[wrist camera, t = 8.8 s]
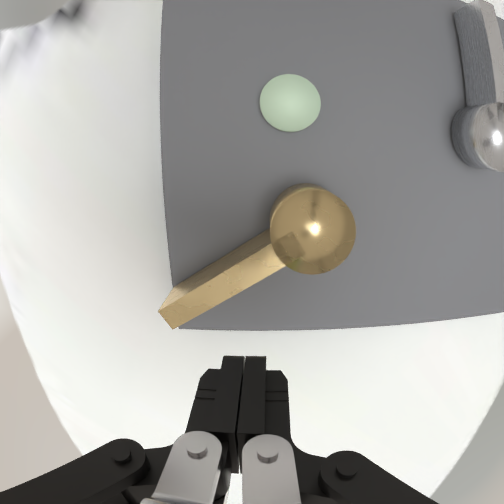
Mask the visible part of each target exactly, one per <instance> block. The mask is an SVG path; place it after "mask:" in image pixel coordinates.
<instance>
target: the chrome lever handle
mask: <svg viewBox="0 0 504 504" xmlns="http://www.w3.org/2000/svg"><path fill="white" fill-rule="evenodd" d="M454 18H455V22H456V27H457V32H458V38H459V44H460V50H461V56H462V63H463V71H464V80H465V90H466V103H467V107H464V108H462V109H460V110H459V111H458V112H457V113H456V115H455V117H454V119H453V123H452V141H453V145H454V147H455V150H456V152H457V154H458V155H459V157H460V158H461V159H462V161H463V162H465V163H466V164H467V165H469V166H471V167H475V168H481V169H487V170H493V171H499V172H504V49H503V44H502V39H501V34H500V30H499V26H498V22H497V18H496V14H495V10H494V7H493V5H492V4H490V3H488V2H486V1H484V0H474V1H472V2H470V3H469V4H467V5H465V6H464V7H462V8H461V9H459V10H457V11H456V12H454Z"/></svg>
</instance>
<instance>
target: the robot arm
mask: <svg viewBox="0 0 504 504" xmlns="http://www.w3.org/2000/svg"><path fill="white" fill-rule="evenodd" d="M239 464H240V472H241V474H242V496H243V504H438V503H437V502H435V501H433V500H431V499H430V498H428V497H426V496H425V495H423V494H421V493H420V492H418V491H417V490H415V489H413V488H412V487H410V486H408V485H407V484H405V483H404V482H402V481H401V480H399V479H397V478H396V477H394V476H393V475H391V474H390V473H388V472H387V471H385V470H384V469H382V468H381V467H379V466H378V465H376V464H375V463H373V462H372V461H370V460H369V459H367V458H366V457H365V456H363V455H361V454H360V453H357V452H354V451H339V452H336V453H333V454H331V455H330V456H328V457H327V458H325V457H320V456H315V455H310V454H307V453H305V452H303V451H301V450H300V449H298V448H297V447H296V446H295V445H294V443H293V441H292V439H291V434H290V415H289V397H288V381H287V379H286V377H285V376H284V374H283V373H282V371H281V370H266V356H246V358H245V357H244V356H224V357H223V361H222V366H221V369H208V370H207V371H206V372H205V373H204V374H203V376H202V377H201V378H200V381H199V385H198V388H197V392H196V395H195V399H194V403H193V406H192V410H191V414H190V417H189V421H188V425H187V428H186V431H185V434H183V435H181V436H180V437H179V438H178V439H177V440H176V441H175V442H174V444H172V445H170V446H167V447H162V448H153V449H143V447H142V446H141V445H140V444H139V443H137V442H136V441H134V440H131V439H116V440H113V441H111V442H109V443H107V444H105V445H103V446H101V447H99V448H97V449H95V450H93V451H91V452H89V453H88V454H86V455H84V456H82V457H80V458H77V459H75V460H73V461H71V462H69V463H67V464H65V465H63V466H61V467H59V468H57V469H54V470H52V471H50V472H48V473H46V474H43V475H41V476H39V477H37V478H34V479H32V480H30V481H27V482H25V483H23V484H20V485H18V486H15V487H13V488H10V489H8V490H5V491H3V492H0V504H226V502H227V498H228V493H229V486H230V477H231V473H237V474H239Z"/></svg>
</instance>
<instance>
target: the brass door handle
mask: <svg viewBox="0 0 504 504" xmlns="http://www.w3.org/2000/svg"><path fill="white" fill-rule="evenodd" d="M355 238H356V225H355V220H354V217H353V214H352V212H351V210H350V209H349V207H348V206H347V205H346V204H345V202H343V201H342V200H341V199H340V198H339V197H337V196H336V195H334V194H332V193H331V192H329V191H328V190H326V189H325V188H323V187H321V186H318V185H315V184H310V183H302V184H296V185H293V186H291V187H289V188H287V189H286V190H284V191H283V192H282V193H281V194H280V195H279V196H278V197H277V198H276V200H275V201H274V203H273V206H272V208H271V212H270V228H269V229H267V230H265V231H264V232H262V233H261V234H259V235H257V236H256V237H254V238H252V239H251V240H249V241H247V242H246V243H244V244H243V245H241V246H239V247H238V248H236V249H234V250H233V251H231V252H229V253H228V254H226V255H225V256H223V257H221V258H220V259H218V260H216V261H215V262H213V263H212V264H210V265H208V266H207V267H205V268H204V269H202V270H200V271H199V272H197V273H195V274H194V275H192V276H191V277H189V278H187V279H186V280H184V281H183V282H181V283H179V284H178V285H176V286H174V288H173V289H172V291H171V292H170V294H169V295H168V297H167V298H166V300H165V301H164V303H163V304H162V306H161V307H160V309H159V310H158V312H159V313H160V314H161V316H162V317H163V318H164V319H165V321H166V322H167V323H168V324H169V326H170V327H171V328H172V329H175V328H177V327H178V326H180V325H182V324H184V323H186V322H188V321H189V320H191V319H193V318H195V317H197V316H198V315H200V314H202V313H204V312H206V311H207V310H209V309H211V308H213V307H215V306H216V305H218V304H220V303H222V302H223V301H225V300H227V299H229V298H231V297H232V296H234V295H236V294H238V293H239V292H241V291H243V290H245V289H246V288H248V287H250V286H252V285H253V284H255V283H257V282H259V281H260V280H262V279H264V278H266V277H267V276H269V275H271V274H273V273H274V272H276V271H278V270H279V269H281V268H283V267H285V266H287V267H288V268H290V269H292V270H294V271H296V272H298V273H302V274H308V275H315V274H322V273H325V272H328V271H331V270H333V269H334V268H336V267H337V266H339V265H340V264H341V263H342V262H343V261H344V260H345V259H346V258H347V257H348V255H349V254H350V252H351V250H352V248H353V245H354V242H355Z"/></svg>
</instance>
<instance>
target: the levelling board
mask: <svg viewBox="0 0 504 504" xmlns="http://www.w3.org/2000/svg"><path fill="white" fill-rule="evenodd" d="M465 5H467V3H465V2H462V1H460V0H163V10H162V28H161V55H160V125H161V154H162V174H163V190H164V204H165V217H166V228H167V239H168V249H169V258H170V267H171V276H172V284H173V288H174V286H176V285H178V284H179V283H181V282H183V281H184V280H186V279H187V278H189V277H191V276H192V275H194V274H195V273H197V272H199V271H200V270H202V269H204V268H205V267H207V266H208V265H210V264H212V263H213V262H215V261H216V260H218V259H220V258H221V257H223V256H225V255H226V254H228V253H229V252H231V251H233V250H234V249H236V248H238V247H239V246H241V245H243V244H244V243H246V242H247V241H249V240H251V239H252V238H254V237H256V236H257V235H259V234H261V233H262V232H264V231H265V230H267V229H269V228H270V212H271V208H272V206H273V203H274V201H275V200H276V198H277V197H278V196H279V195H280V194H281V193H282V192H283V191H284V190H286V189H287V188H289V187H291V186H293V185H296V184H302V183H310V184H315V185H318V186H321V187H323V188H325V189H326V190H328V191H329V192H331V193H332V194H334V195H336V196H337V197H339V198H340V199H341V200H342V201H343V202H345V204H346V205H347V206H348V207H349V209H350V210H351V212H352V214H353V217H354V220H355V225H356V238H355V242H354V245H353V248H352V250H351V252H350V254H349V255H348V257H347V258H346V259H345V260H344V261H343V262H342V263H341V264H340V265H339V266H337V267H336V268H334V269H333V270H331V271H328V272H325V273H322V274H315V275H308V274H302V273H298V272H296V271H294V270H292V269H290V268H288V267H287V266H285V267H283V268H281V269H279V270H278V271H276V272H274V273H273V274H271V275H269V276H267V277H266V278H264V279H262V280H260V281H259V282H257V283H255V284H253V285H252V286H250V287H248V288H246V289H245V290H243V291H241V292H239V293H238V294H236V295H234V296H232V297H231V298H229V299H227V300H225V301H223V302H222V303H220V304H218V305H216V306H215V307H213V308H211V309H209V310H207V311H206V312H204V313H202V314H200V315H198V316H197V317H195V318H193V319H191V320H189V321H188V322H186V323H184V324H182V325H180V326H178V327H179V329H199V330H249V331H269V330H319V329H343V328H361V327H376V326H390V325H402V324H413V323H423V322H433V321H442V320H450V319H458V318H466V317H474V316H481V315H487V314H494V313H500V312H504V172H499V171H493V170H487V169H481V168H475V167H471V166H469V165H467V164H466V163H465V162H463V161H462V159H461V158H460V157H459V155H458V154H457V152H456V150H455V147H454V145H453V141H452V123H453V119H454V117H455V115H456V113H457V112H458V111H459V110H460V109H462V108H464V107H467V103H466V90H465V80H464V71H463V63H462V56H461V50H460V44H459V38H458V32H457V27H456V22H455V18H454V12H456V11H457V10H459V9H461V8H462V7H464V6H465ZM496 18H497V22H498V26H499V30H500V34H501V39H502V44H503V49H504V20H503V19H501V18H499V17H497V16H496Z"/></svg>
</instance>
